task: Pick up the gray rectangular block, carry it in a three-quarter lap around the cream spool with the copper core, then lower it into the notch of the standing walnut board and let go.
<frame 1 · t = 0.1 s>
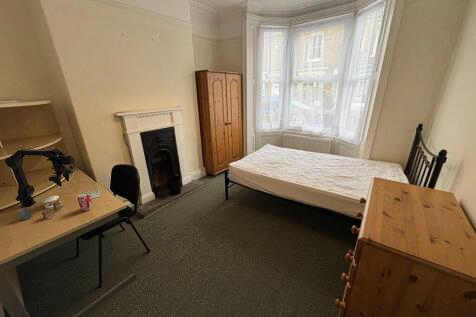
hand: (64, 183, 150), 15 cm above the table, fingers open, 9 cm apart
bobbin: (53, 204, 148), on the table
soda can: (87, 209, 142), on the table
handheld gaming console: (92, 195, 161), on the table
gray rectangular block: (27, 218, 133), on the table
notched board: (53, 212, 139), on the table
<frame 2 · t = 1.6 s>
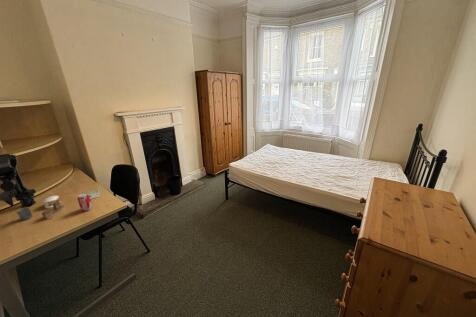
hand: (20, 205, 130), 11 cm above the table, fingers open, 9 cm apart
nothing on the table moved.
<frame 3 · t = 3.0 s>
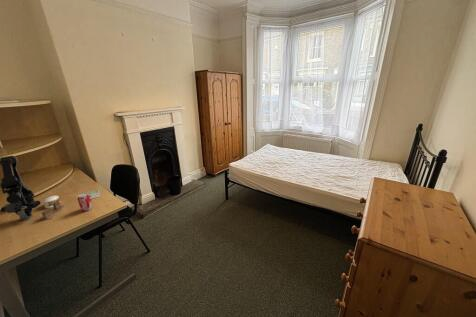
hand: (26, 216, 133), 2 cm above the table, fingers closed on gray rectangular block, 4 cm apart
gray rectangular block: (27, 218, 133), on the table, touching gripper
everything else where it was.
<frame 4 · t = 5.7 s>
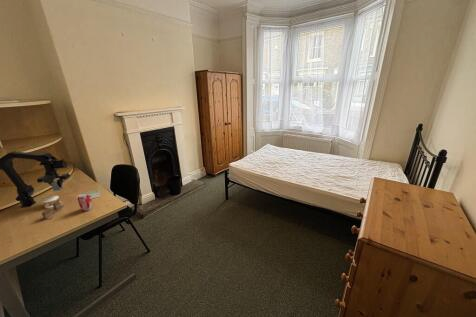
hand: (57, 187, 150), 11 cm above the table, fingers closed on gray rectangular block, 4 cm apart
gray rectangular block: (58, 189, 151), point 10 cm above the table, touching gripper
everything else where it was.
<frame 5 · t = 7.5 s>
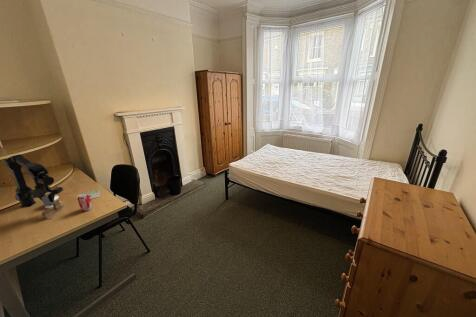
hand: (49, 202, 136), 9 cm above the table, fingers closed on gray rectangular block, 4 cm apart
gray rectangular block: (49, 204, 136), point 7 cm above the table, touching gripper
everything else where it was.
when the fingers open (4 cm above the table, at t = 8.6 s): gray rectangular block drops 1 cm, resting on notched board.
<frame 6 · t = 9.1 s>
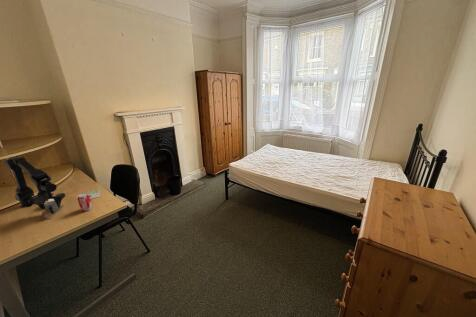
hand: (51, 208, 137), 4 cm above the table, fingers open, 9 cm apart
gray rectangular block: (53, 212, 138), point 1 cm above the table, touching notched board
everything else where it was.
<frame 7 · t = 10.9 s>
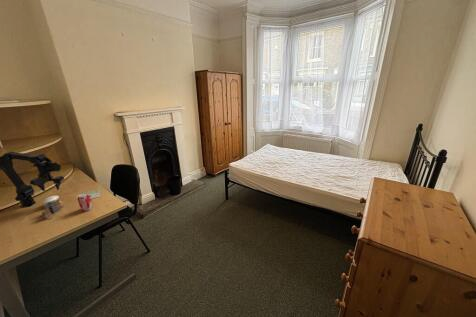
hand: (51, 190, 146), 12 cm above the table, fingers open, 9 cm apart
nothing on the table moved.
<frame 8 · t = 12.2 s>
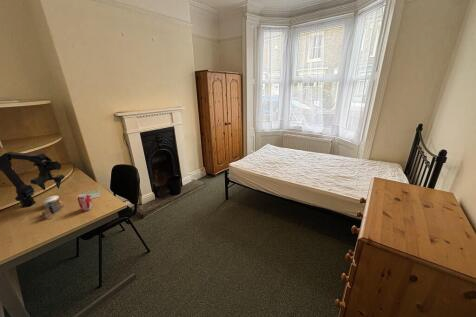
hand: (51, 189, 147), 12 cm above the table, fingers open, 9 cm apart
nothing on the table moved.
at the end: gray rectangular block 0.0 cm off-centre on the notched board, point 0.6 cm above the notched board's base; gray rectangular block tilted 0°; the gripper is holding nothing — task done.
